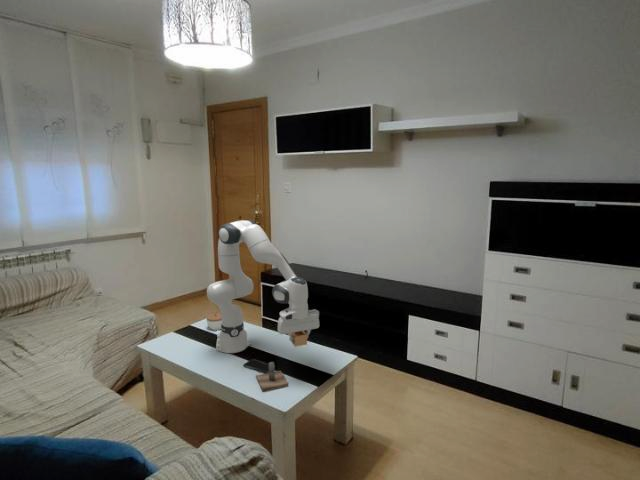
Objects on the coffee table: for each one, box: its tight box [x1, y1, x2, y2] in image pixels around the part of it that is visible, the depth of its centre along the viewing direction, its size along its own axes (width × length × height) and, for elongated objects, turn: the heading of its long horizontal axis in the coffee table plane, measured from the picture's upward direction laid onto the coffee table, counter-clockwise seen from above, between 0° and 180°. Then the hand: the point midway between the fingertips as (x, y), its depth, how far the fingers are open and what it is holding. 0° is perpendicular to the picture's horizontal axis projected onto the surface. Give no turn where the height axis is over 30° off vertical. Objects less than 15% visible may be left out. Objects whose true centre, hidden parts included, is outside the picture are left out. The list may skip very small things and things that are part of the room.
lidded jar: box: [206, 312, 222, 331], centre depth 241 cm, size 11×11×9 cm
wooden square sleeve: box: [290, 331, 308, 348], centre depth 188 cm, size 6×6×5 cm
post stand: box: [255, 361, 289, 393], centre depth 181 cm, size 12×12×10 cm
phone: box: [242, 358, 276, 374], centre depth 196 cm, size 8×1×15 cm
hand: (298, 339), depth 188 cm, fingers closed on wooden square sleeve, 6 cm apart
